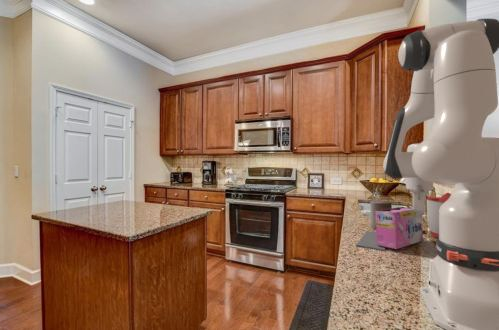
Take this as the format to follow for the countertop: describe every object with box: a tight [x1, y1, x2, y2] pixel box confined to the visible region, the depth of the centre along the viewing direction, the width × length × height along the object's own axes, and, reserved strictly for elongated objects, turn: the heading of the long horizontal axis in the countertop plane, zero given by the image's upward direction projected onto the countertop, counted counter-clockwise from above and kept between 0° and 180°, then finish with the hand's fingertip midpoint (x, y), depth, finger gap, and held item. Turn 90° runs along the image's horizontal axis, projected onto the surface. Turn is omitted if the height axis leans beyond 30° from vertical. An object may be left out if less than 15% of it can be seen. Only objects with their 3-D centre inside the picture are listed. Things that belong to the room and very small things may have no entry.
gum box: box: [375, 206, 424, 250], centre depth 99 cm, size 24×8×14 cm, turn 124°
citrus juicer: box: [426, 192, 452, 239], centre depth 107 cm, size 16×17×20 cm
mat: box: [355, 230, 387, 252], centre depth 104 cm, size 24×10×1 cm, turn 144°
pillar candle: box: [369, 199, 393, 230], centre depth 123 cm, size 10×10×15 cm
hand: (419, 220), depth 95 cm, fingers open, 8 cm apart
